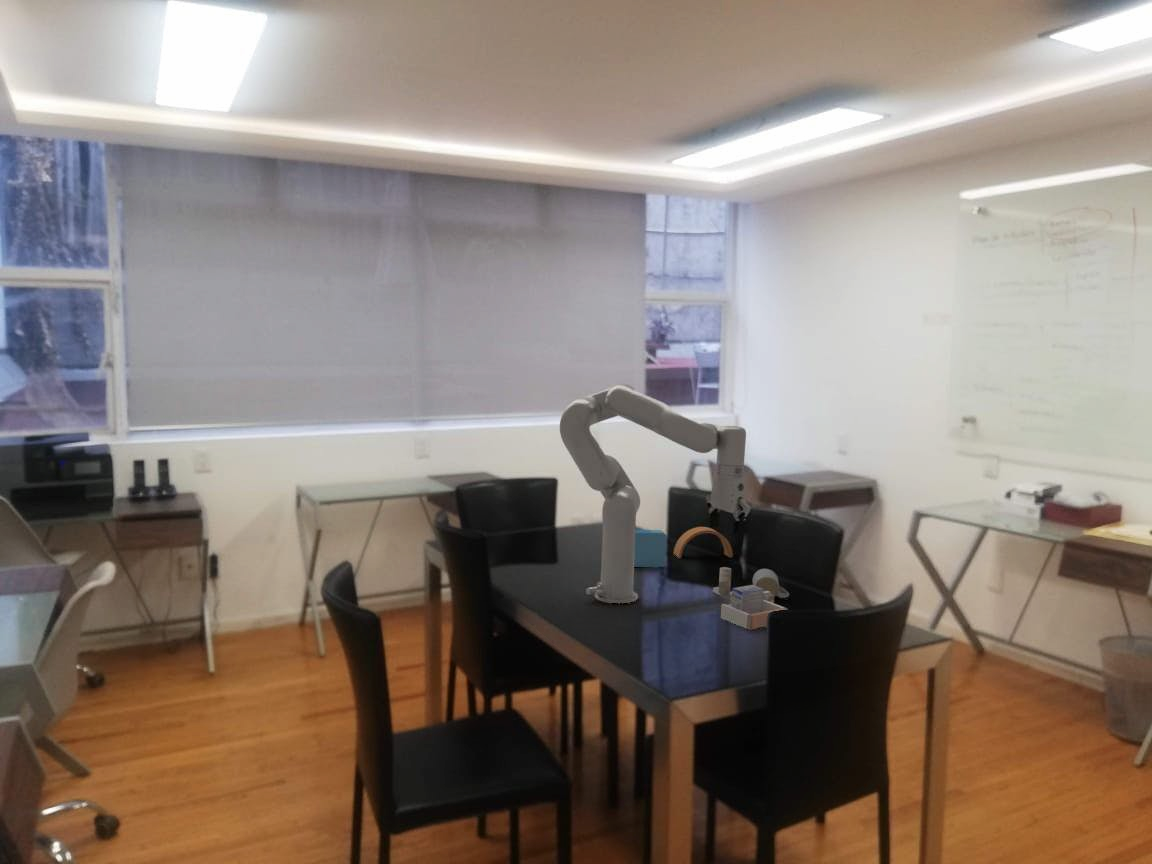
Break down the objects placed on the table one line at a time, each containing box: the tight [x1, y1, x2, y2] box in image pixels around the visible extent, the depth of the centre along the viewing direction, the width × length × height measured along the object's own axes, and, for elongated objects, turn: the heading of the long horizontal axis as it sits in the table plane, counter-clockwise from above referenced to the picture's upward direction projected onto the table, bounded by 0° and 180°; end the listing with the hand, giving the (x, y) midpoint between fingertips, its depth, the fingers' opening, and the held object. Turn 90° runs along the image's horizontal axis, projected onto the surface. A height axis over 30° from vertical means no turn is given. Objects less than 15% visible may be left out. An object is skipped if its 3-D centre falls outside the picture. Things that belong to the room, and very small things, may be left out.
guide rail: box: [712, 586, 732, 596], centre depth 255 cm, size 2×20×2 cm, turn 33°
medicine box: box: [730, 584, 764, 614], centre depth 239 cm, size 8×4×9 cm, turn 123°
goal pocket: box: [720, 600, 789, 629], centre depth 237 cm, size 14×11×4 cm
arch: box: [673, 526, 734, 559], centre depth 308 cm, size 6×20×10 cm, turn 102°
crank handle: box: [718, 566, 775, 606], centre depth 246 cm, size 16×11×11 cm
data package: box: [634, 529, 668, 568], centre depth 290 cm, size 12×4×12 cm, turn 97°
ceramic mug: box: [752, 568, 790, 599], centre depth 261 cm, size 11×8×8 cm
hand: (725, 530), depth 246 cm, fingers open, 9 cm apart
